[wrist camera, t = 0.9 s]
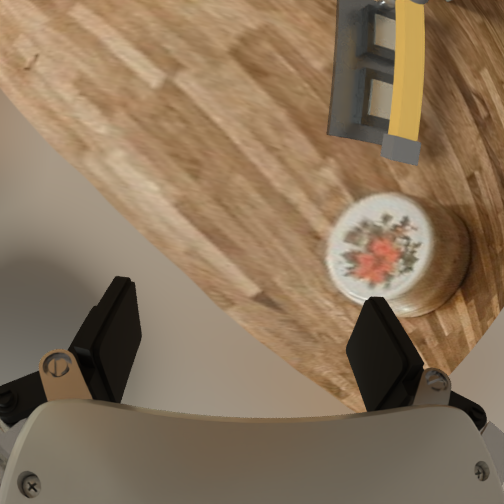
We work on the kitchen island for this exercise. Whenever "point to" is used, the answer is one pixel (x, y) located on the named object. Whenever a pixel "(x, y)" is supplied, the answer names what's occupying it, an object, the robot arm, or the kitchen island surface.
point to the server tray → (363, 70)
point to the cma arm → (406, 84)
